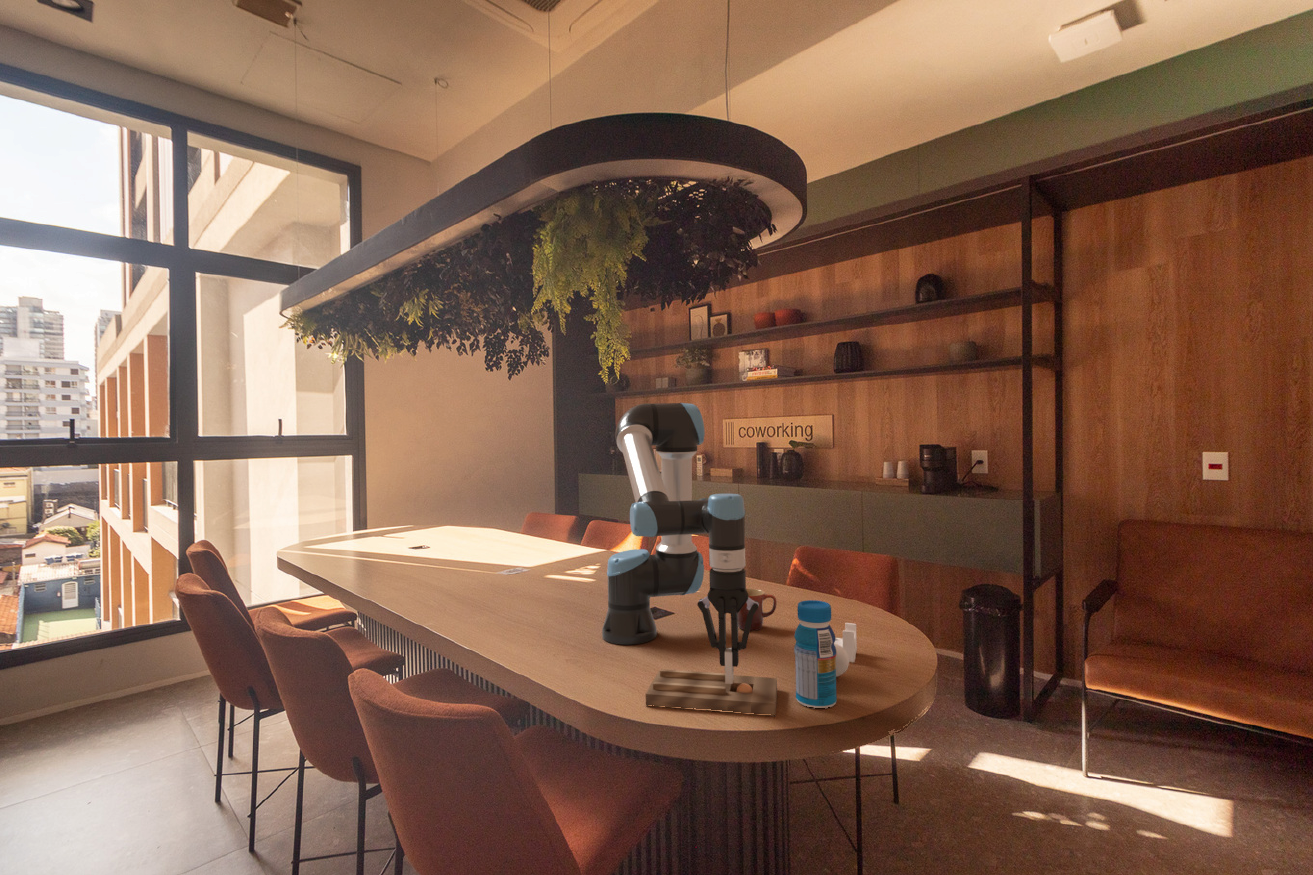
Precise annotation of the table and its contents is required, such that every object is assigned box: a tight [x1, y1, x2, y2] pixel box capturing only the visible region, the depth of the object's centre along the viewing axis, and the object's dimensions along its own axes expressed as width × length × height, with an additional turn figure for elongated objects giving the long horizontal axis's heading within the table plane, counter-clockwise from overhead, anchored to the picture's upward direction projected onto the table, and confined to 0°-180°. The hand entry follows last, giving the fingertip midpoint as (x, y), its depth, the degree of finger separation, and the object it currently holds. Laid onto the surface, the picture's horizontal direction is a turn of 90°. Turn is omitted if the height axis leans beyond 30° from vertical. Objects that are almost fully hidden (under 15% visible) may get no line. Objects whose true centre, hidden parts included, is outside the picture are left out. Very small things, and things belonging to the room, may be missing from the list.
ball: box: [736, 683, 753, 693], centre depth 125 cm, size 3×3×3 cm
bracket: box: [834, 622, 858, 663], centre depth 151 cm, size 13×7×8 cm, turn 67°
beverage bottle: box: [793, 599, 837, 709], centre depth 124 cm, size 8×8×20 cm
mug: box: [738, 588, 778, 632], centre depth 174 cm, size 12×9×10 cm
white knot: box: [834, 643, 850, 678], centre depth 136 cm, size 11×12×9 cm
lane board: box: [645, 668, 778, 716], centre depth 127 cm, size 26×13×4 cm, turn 77°
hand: (729, 681), depth 126 cm, fingers closed
